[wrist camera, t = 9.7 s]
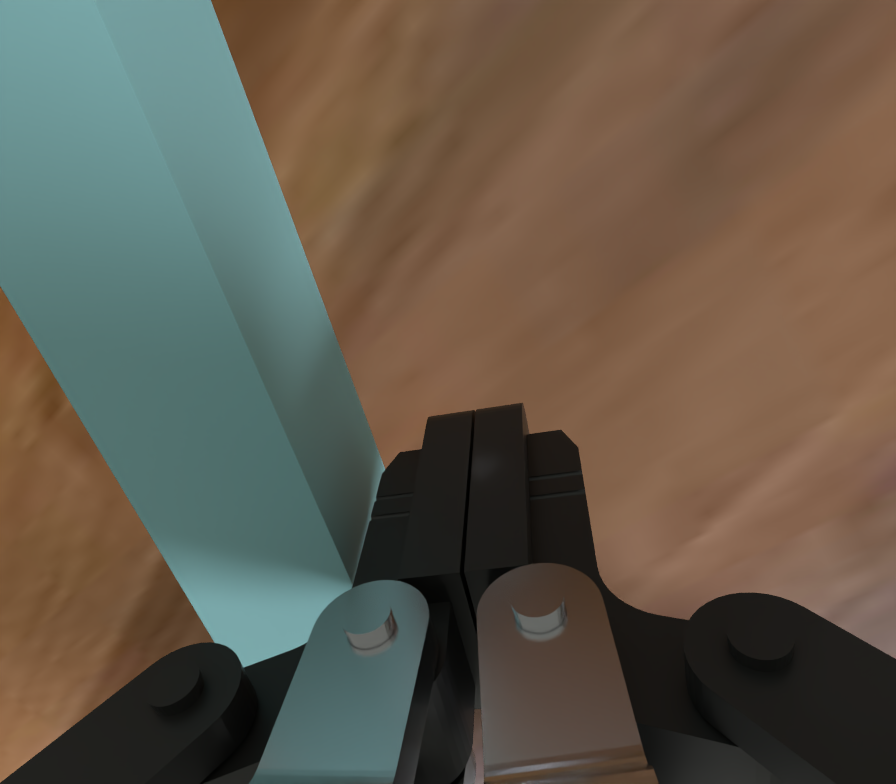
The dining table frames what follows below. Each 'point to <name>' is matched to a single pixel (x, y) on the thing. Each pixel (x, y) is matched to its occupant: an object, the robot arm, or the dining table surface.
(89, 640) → the dining table surface
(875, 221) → the dining table surface
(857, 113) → the dining table surface
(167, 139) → the latch arm
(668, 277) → the dining table surface
